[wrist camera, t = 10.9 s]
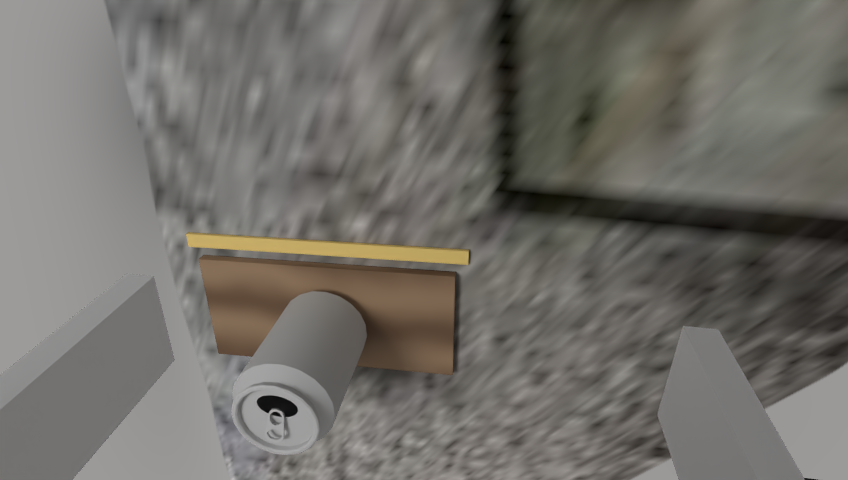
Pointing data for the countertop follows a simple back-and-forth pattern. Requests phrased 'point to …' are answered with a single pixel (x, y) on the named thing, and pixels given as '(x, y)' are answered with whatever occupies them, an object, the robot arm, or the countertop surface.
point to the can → (299, 374)
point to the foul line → (329, 248)
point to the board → (359, 285)
